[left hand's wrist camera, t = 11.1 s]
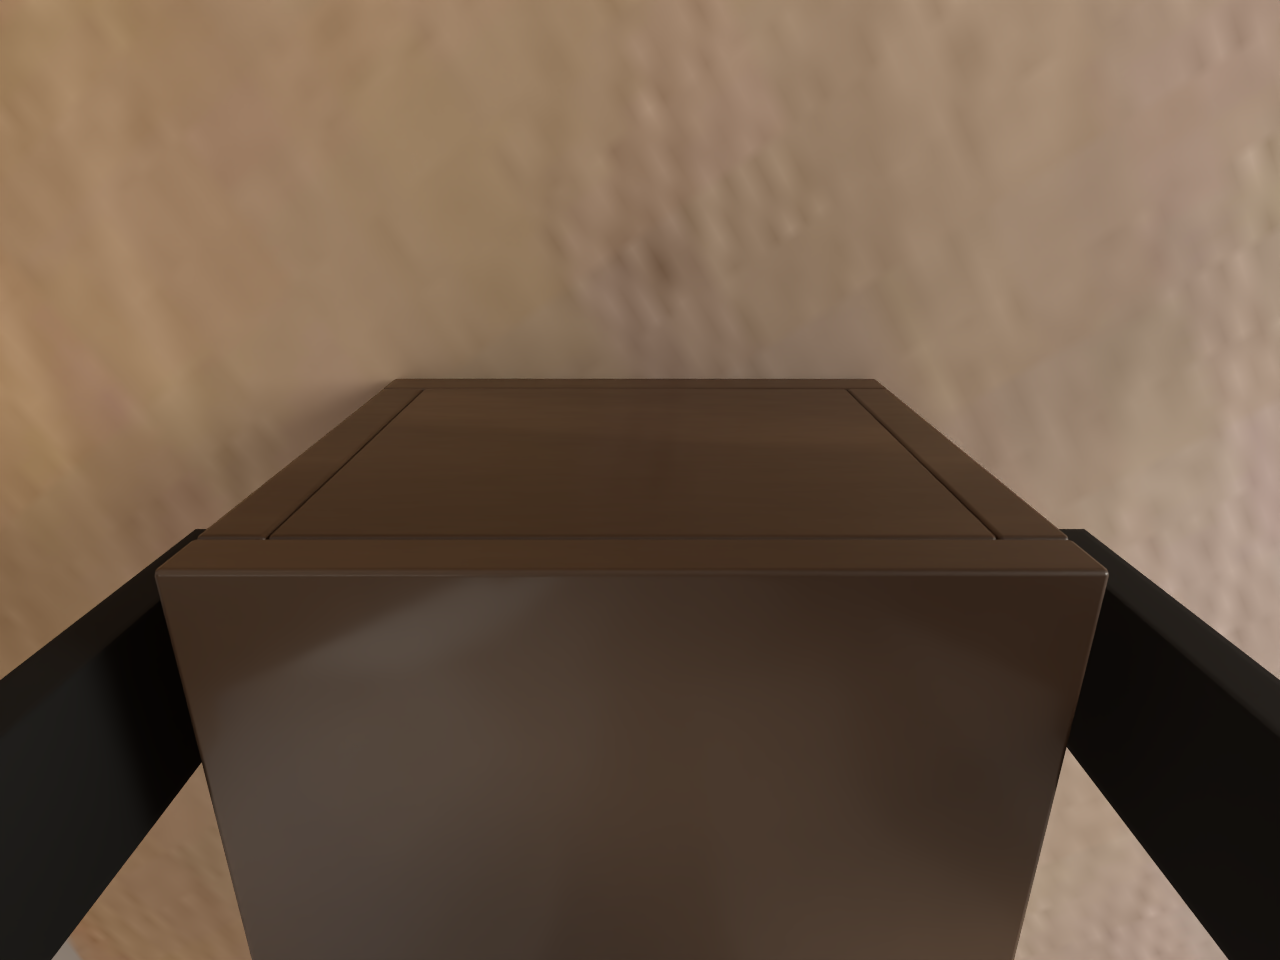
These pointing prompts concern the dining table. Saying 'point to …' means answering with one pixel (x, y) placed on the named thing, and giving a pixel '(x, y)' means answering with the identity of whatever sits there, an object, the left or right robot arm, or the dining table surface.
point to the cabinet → (632, 678)
